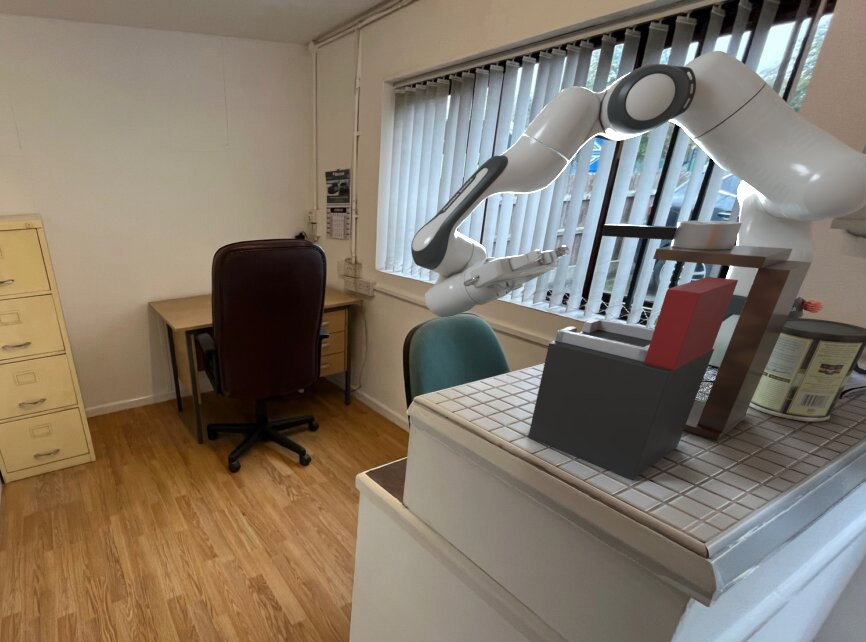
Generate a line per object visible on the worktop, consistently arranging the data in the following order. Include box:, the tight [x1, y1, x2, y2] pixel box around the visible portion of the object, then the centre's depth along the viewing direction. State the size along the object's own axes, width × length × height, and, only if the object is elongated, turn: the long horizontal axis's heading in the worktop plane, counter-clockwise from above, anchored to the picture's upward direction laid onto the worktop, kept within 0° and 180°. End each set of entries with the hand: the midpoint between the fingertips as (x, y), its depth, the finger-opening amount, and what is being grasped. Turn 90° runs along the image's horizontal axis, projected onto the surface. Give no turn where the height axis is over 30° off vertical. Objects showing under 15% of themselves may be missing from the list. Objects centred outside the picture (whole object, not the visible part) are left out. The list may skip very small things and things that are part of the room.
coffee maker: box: [527, 276, 738, 481], centre depth 63 cm, size 14×14×24 cm
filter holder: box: [600, 220, 742, 250], centre depth 71 cm, size 17×7×4 cm, turn 33°
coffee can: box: [749, 317, 866, 423], centre depth 73 cm, size 10×10×14 cm
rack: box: [652, 244, 811, 441], centre depth 71 cm, size 14×12×26 cm
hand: (553, 251), depth 85 cm, fingers open, 8 cm apart
